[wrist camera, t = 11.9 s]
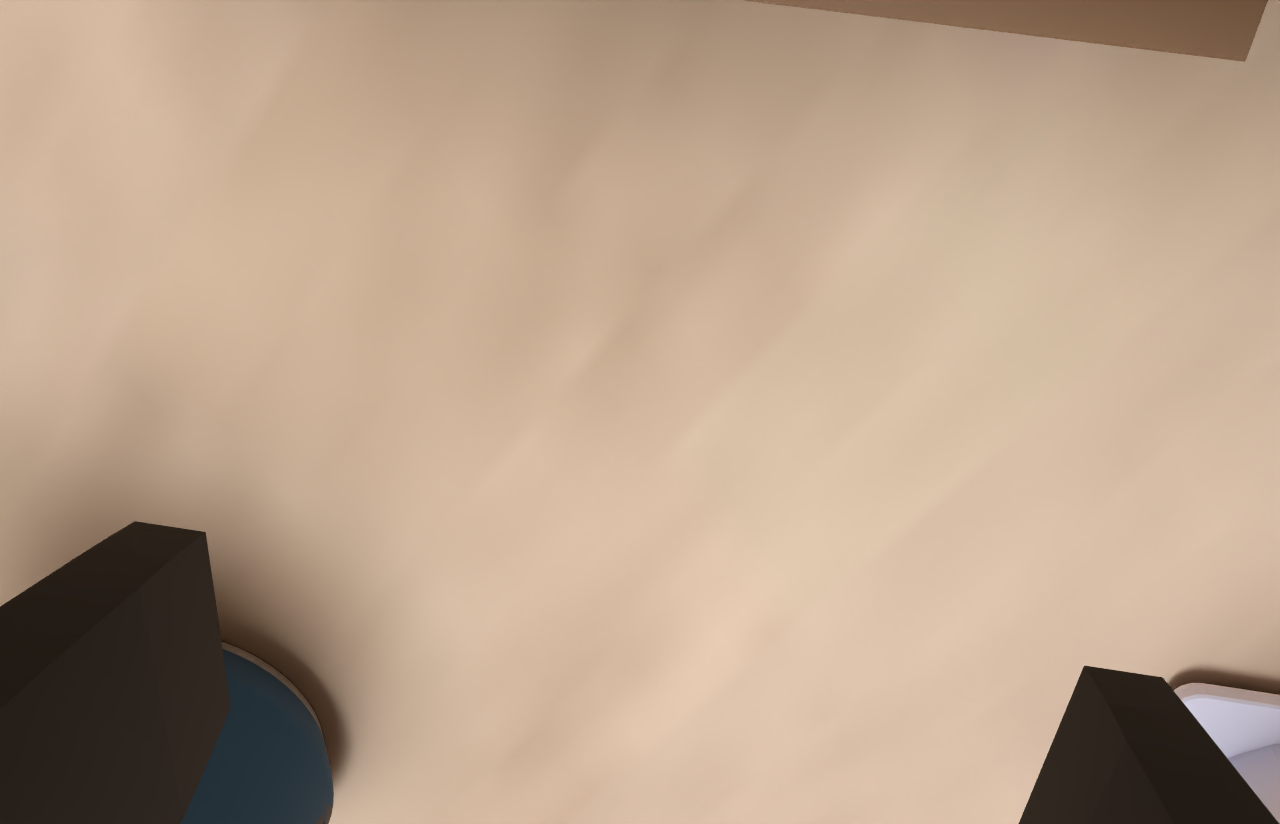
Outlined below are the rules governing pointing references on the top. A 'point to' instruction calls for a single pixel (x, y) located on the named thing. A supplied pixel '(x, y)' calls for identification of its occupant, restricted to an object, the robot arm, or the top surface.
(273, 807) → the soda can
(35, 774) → the robot arm
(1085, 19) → the walnut collar
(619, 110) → the top surface
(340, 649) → the top surface
